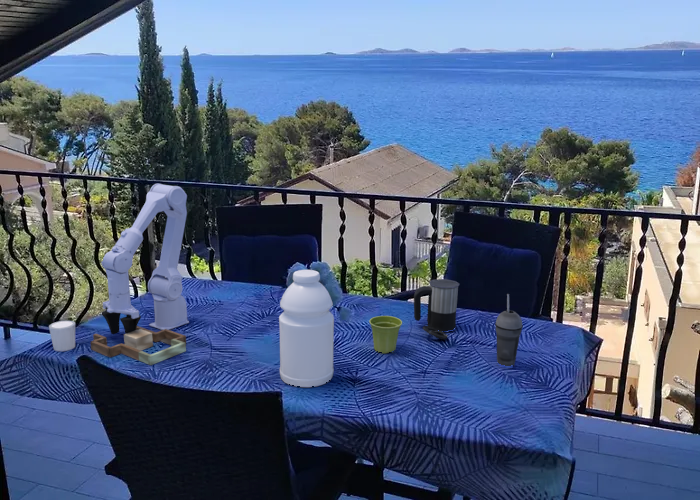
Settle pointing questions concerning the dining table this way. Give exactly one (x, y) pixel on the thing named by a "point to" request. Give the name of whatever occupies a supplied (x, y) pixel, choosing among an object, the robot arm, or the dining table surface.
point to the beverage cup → (508, 336)
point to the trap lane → (163, 336)
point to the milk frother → (438, 306)
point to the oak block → (139, 339)
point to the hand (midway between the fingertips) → (122, 336)
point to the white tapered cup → (63, 335)
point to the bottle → (306, 332)
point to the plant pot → (385, 332)
